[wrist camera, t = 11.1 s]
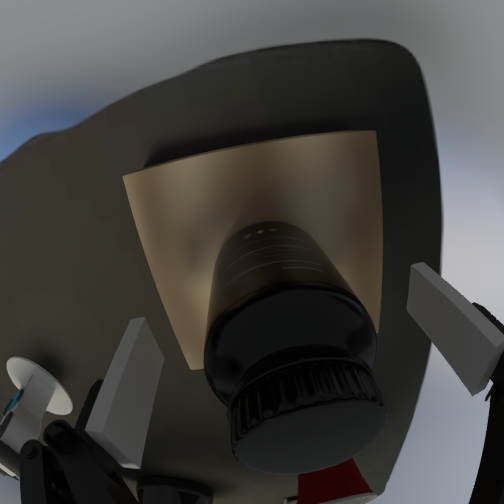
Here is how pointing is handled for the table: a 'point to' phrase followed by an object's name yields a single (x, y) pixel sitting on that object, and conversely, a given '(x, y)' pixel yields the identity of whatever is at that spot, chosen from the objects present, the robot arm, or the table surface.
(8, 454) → the disc-based toy figure
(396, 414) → the table surface
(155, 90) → the table surface
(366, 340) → the supplement bottle
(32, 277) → the table surface
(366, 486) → the plastic cup
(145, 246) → the oak block
